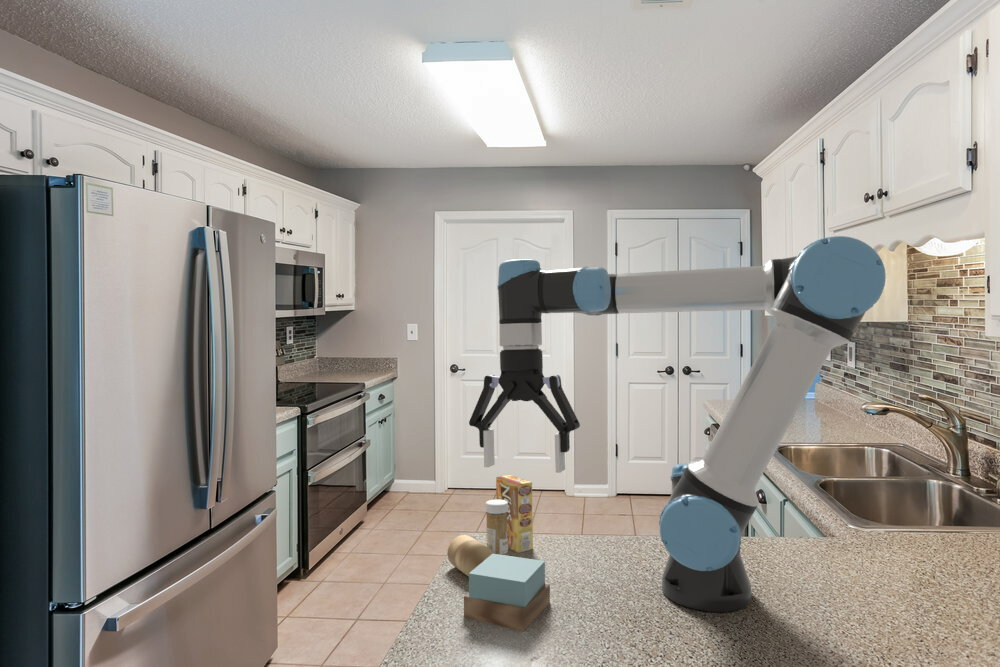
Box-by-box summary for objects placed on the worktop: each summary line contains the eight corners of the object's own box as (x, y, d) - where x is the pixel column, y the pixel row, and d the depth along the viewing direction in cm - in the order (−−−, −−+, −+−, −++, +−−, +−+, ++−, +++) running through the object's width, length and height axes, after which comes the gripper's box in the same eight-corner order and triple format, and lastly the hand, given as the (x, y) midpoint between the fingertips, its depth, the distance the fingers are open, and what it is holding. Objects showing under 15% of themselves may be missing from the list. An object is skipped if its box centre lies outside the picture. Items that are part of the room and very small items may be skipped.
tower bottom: (549, 607, 108) (549, 584, 108) (523, 634, 98) (523, 609, 98) (494, 595, 113) (494, 573, 113) (463, 619, 103) (463, 596, 103)
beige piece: (464, 572, 126) (483, 586, 119) (441, 558, 123) (459, 571, 117) (481, 543, 128) (500, 555, 121) (458, 529, 125) (477, 540, 119)
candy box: (533, 552, 134) (533, 481, 134) (518, 556, 132) (517, 484, 132) (511, 540, 141) (510, 474, 141) (495, 544, 139) (495, 476, 139)
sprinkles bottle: (510, 571, 123) (510, 503, 123) (488, 573, 122) (487, 505, 122) (505, 562, 128) (505, 497, 128) (484, 564, 127) (483, 499, 127)
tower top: (544, 583, 108) (544, 561, 108) (525, 607, 99) (524, 582, 99) (492, 575, 112) (492, 553, 112) (469, 597, 103) (468, 573, 103)
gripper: (595, 346, 107) (598, 468, 107) (468, 348, 117) (471, 460, 117) (582, 347, 100) (585, 478, 100) (449, 349, 111) (451, 467, 110)
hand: (523, 468), depth 109 cm, fingers open, 13 cm apart
